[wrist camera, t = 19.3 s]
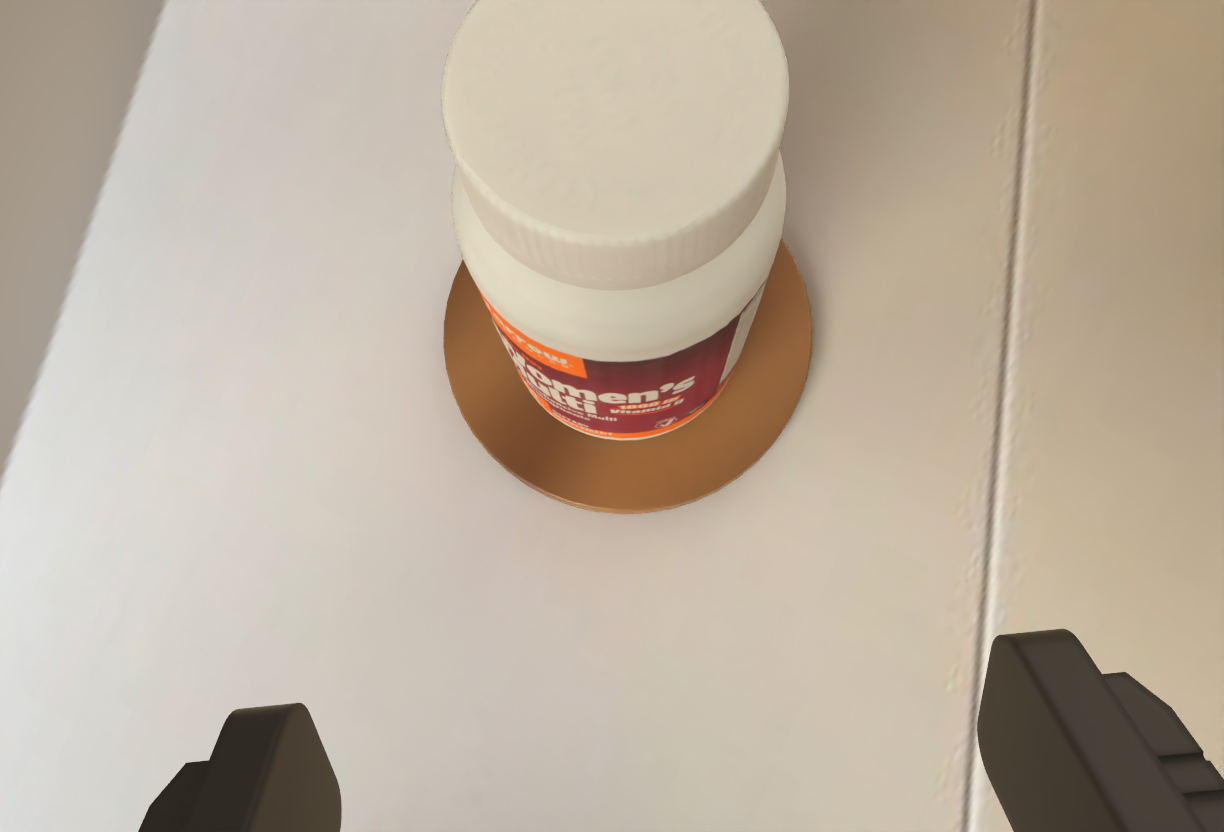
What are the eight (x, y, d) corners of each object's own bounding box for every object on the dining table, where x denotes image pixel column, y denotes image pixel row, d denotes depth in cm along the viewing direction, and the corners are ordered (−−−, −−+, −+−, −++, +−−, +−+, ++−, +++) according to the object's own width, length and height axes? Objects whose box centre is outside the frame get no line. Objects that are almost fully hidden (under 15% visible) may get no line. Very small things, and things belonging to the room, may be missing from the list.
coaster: (385, 423, 24) (378, 418, 23) (542, 121, 26) (539, 110, 25) (723, 576, 23) (725, 575, 22) (862, 247, 25) (867, 238, 24)
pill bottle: (495, 429, 23) (360, 254, 12) (533, 216, 25) (440, -114, 14) (728, 459, 23) (805, 307, 12) (753, 240, 24) (842, -78, 13)
